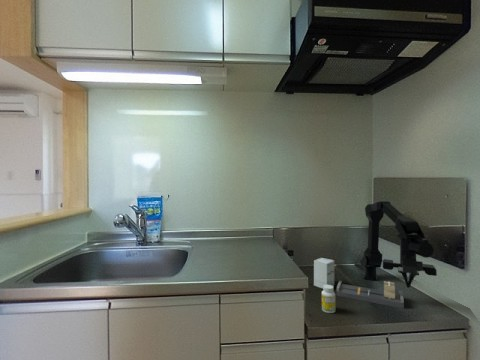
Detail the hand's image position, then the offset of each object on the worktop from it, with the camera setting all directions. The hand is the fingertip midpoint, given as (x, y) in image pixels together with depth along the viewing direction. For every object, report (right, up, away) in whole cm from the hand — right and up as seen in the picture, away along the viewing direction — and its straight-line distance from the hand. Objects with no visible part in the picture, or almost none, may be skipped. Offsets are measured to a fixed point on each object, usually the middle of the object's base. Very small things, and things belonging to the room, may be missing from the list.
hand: (408, 287), depth 111 cm
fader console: (-13, -7, +7) cm, 17 cm away
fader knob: (-6, -5, +3) cm, 8 cm away
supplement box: (-29, -8, +20) cm, 36 cm away
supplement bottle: (-35, -8, -4) cm, 36 cm away
